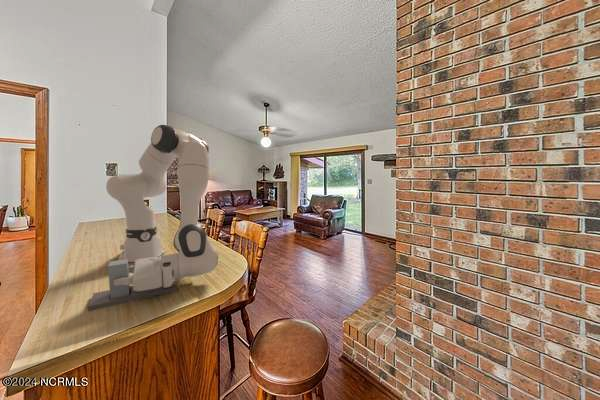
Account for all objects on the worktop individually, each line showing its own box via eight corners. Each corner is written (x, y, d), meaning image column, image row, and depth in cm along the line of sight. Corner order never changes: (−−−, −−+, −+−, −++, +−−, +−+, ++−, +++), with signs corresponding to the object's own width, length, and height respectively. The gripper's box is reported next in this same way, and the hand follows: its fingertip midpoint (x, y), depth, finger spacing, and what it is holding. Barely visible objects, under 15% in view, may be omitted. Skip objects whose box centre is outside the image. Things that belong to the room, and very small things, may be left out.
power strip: (94, 300, 75) (93, 291, 74) (174, 283, 86) (173, 275, 86) (88, 314, 67) (87, 304, 67) (177, 293, 79) (176, 285, 78)
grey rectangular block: (112, 295, 75) (109, 261, 74) (130, 292, 78) (127, 259, 76) (110, 302, 71) (107, 266, 70) (129, 298, 74) (126, 263, 73)
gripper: (164, 250, 89) (118, 257, 82) (169, 268, 72) (110, 279, 65) (165, 267, 90) (119, 275, 82) (170, 289, 73) (112, 301, 65)
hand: (115, 277), depth 73 cm, fingers open, 6 cm apart
